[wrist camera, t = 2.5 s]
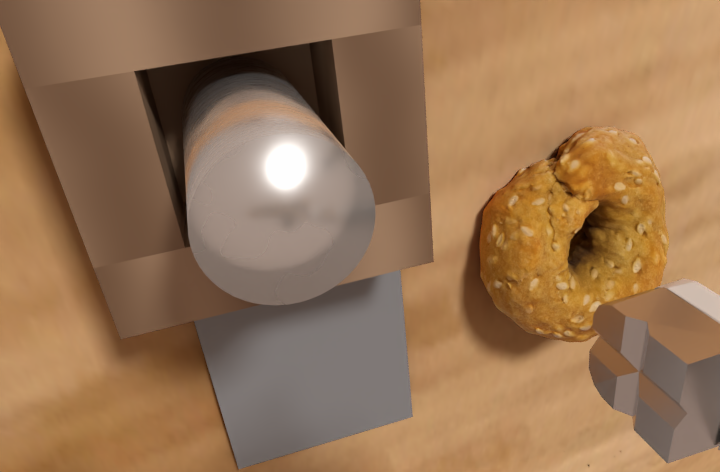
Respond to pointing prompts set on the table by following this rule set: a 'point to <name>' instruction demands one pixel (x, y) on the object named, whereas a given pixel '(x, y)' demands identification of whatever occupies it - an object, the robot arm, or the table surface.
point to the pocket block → (165, 134)
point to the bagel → (564, 219)
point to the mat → (310, 368)
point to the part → (269, 187)
